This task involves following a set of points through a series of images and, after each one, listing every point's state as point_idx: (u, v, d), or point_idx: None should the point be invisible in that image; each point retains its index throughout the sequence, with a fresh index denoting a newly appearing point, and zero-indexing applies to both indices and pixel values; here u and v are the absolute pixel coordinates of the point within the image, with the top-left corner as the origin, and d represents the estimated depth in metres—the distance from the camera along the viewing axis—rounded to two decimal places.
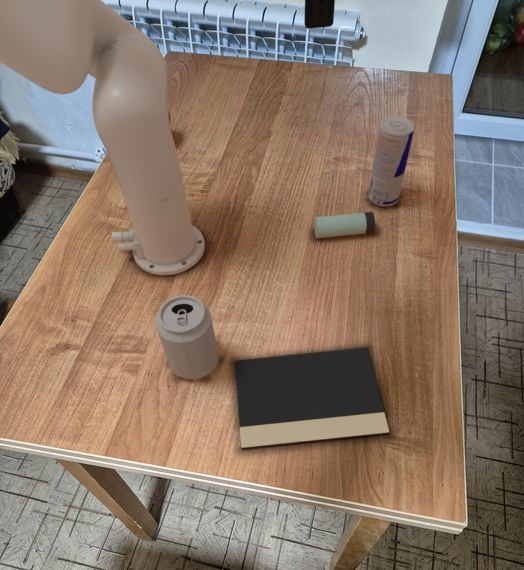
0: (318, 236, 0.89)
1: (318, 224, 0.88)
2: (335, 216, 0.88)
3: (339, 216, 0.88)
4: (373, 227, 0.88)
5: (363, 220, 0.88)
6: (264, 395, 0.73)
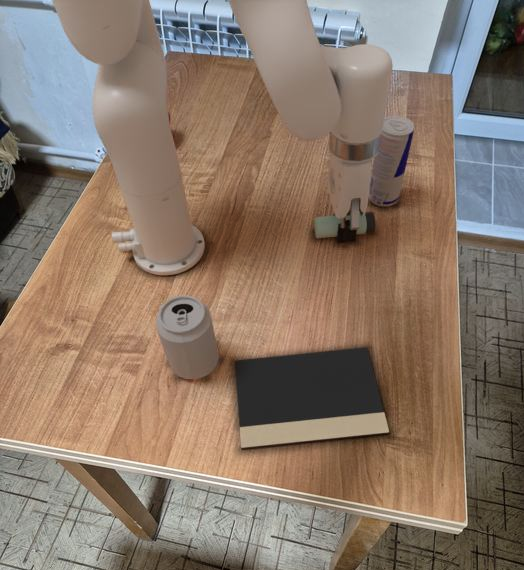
0: (318, 236, 0.89)
1: (318, 224, 0.88)
2: (335, 216, 0.88)
3: None
4: (373, 227, 0.88)
5: (363, 220, 0.88)
6: (264, 395, 0.73)
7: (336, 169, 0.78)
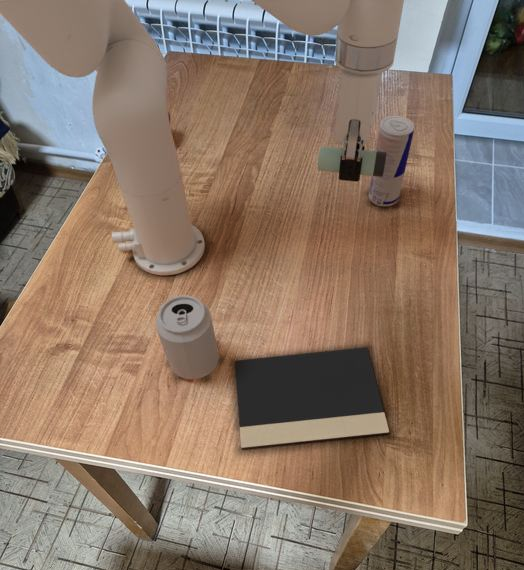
0: (319, 167, 0.79)
1: (320, 153, 0.78)
2: (342, 148, 0.78)
3: None
4: (382, 168, 0.77)
5: (372, 158, 0.77)
6: (264, 395, 0.73)
7: None
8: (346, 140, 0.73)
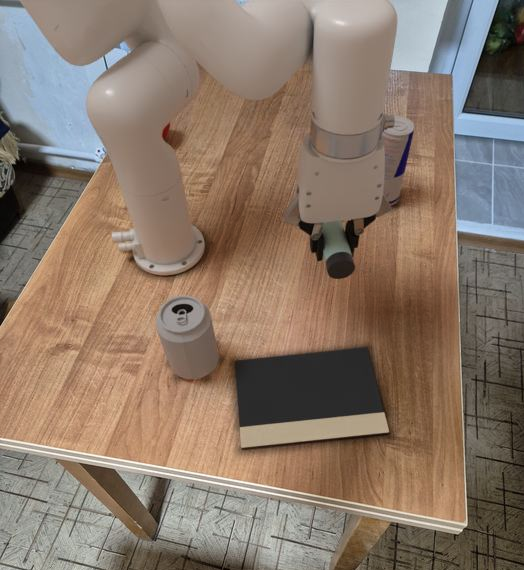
0: None
1: None
2: (336, 224, 0.69)
3: (336, 228, 0.68)
4: (328, 267, 0.66)
5: (332, 251, 0.66)
6: (264, 395, 0.73)
7: None
8: None
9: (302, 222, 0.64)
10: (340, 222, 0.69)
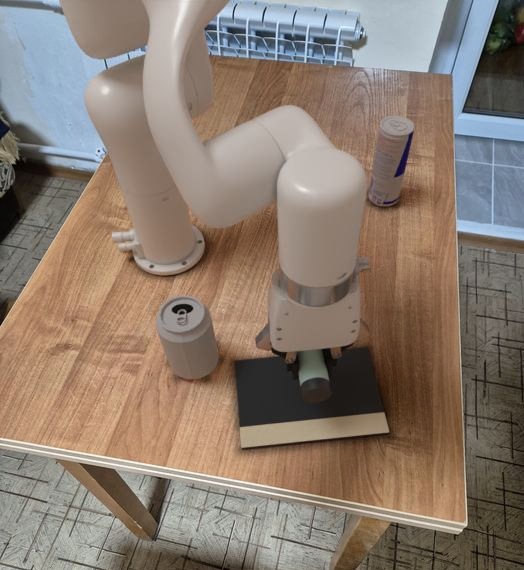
0: None
1: None
2: None
3: None
4: (302, 393, 0.62)
5: (307, 376, 0.62)
6: (264, 395, 0.73)
7: None
8: None
9: None
10: None
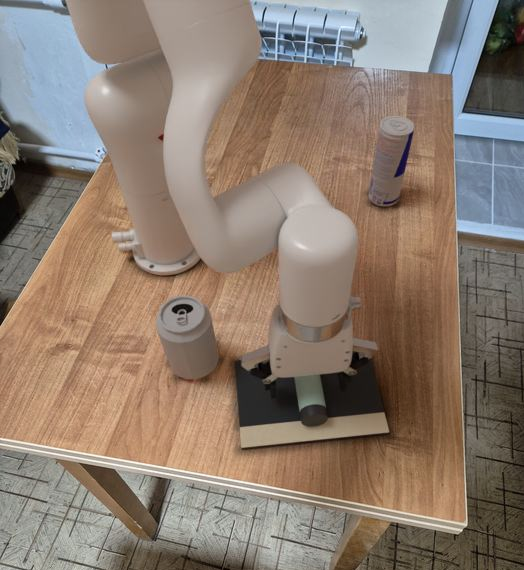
0: None
1: None
2: None
3: (312, 376, 0.70)
4: (301, 418, 0.68)
5: (306, 402, 0.68)
6: (264, 395, 0.73)
7: None
8: None
9: (253, 370, 0.65)
10: None
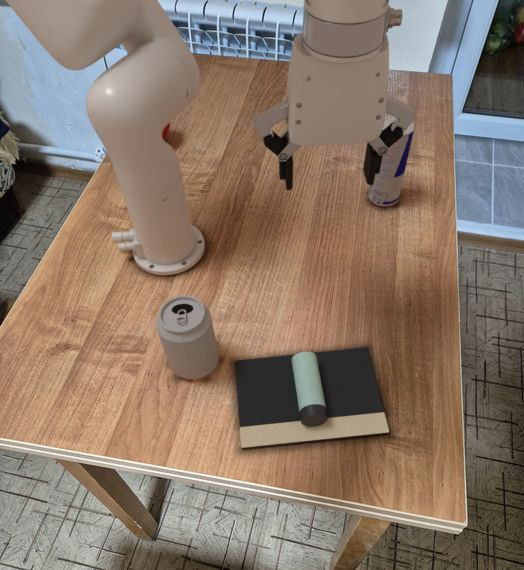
0: None
1: (298, 354, 0.72)
2: (311, 371, 0.70)
3: (311, 376, 0.70)
4: (301, 418, 0.68)
5: (306, 402, 0.68)
6: (264, 395, 0.73)
7: None
8: None
9: (267, 137, 0.55)
10: (316, 367, 0.71)
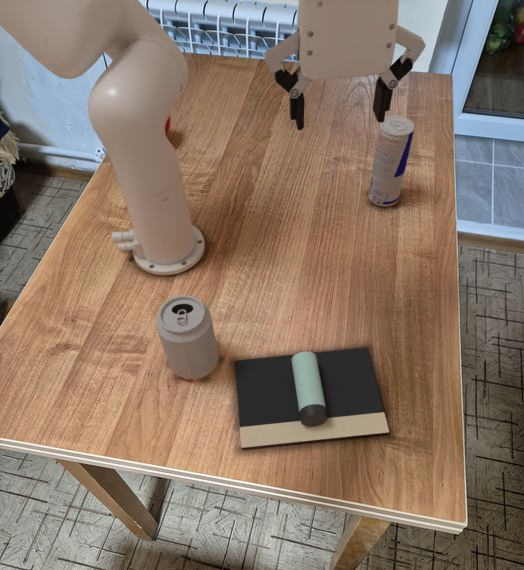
0: None
1: (298, 354, 0.72)
2: (311, 371, 0.70)
3: (311, 376, 0.70)
4: (301, 418, 0.68)
5: (305, 402, 0.68)
6: (264, 395, 0.73)
7: None
8: None
9: (279, 73, 0.56)
10: (315, 367, 0.71)
